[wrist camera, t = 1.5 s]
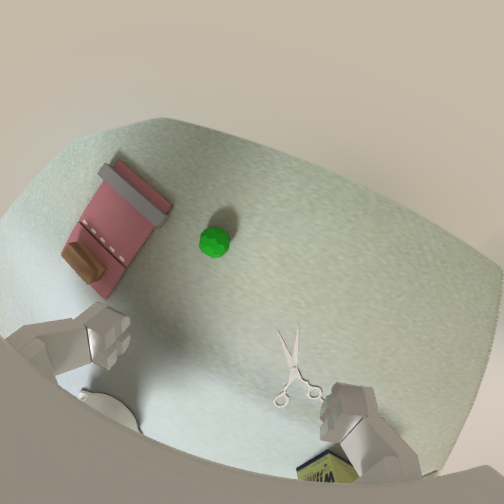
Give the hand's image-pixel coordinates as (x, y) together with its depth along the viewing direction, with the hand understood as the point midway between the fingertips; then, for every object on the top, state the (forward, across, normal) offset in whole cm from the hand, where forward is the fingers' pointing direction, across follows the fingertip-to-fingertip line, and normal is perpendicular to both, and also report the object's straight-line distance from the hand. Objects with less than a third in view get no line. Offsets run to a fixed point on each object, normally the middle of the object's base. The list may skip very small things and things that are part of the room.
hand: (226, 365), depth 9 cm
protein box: (+28, +32, -58) cm, 72 cm away
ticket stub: (+30, -32, -17) cm, 48 cm away
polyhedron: (+36, -10, -8) cm, 38 cm away
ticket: (+34, -28, -7) cm, 44 cm away
